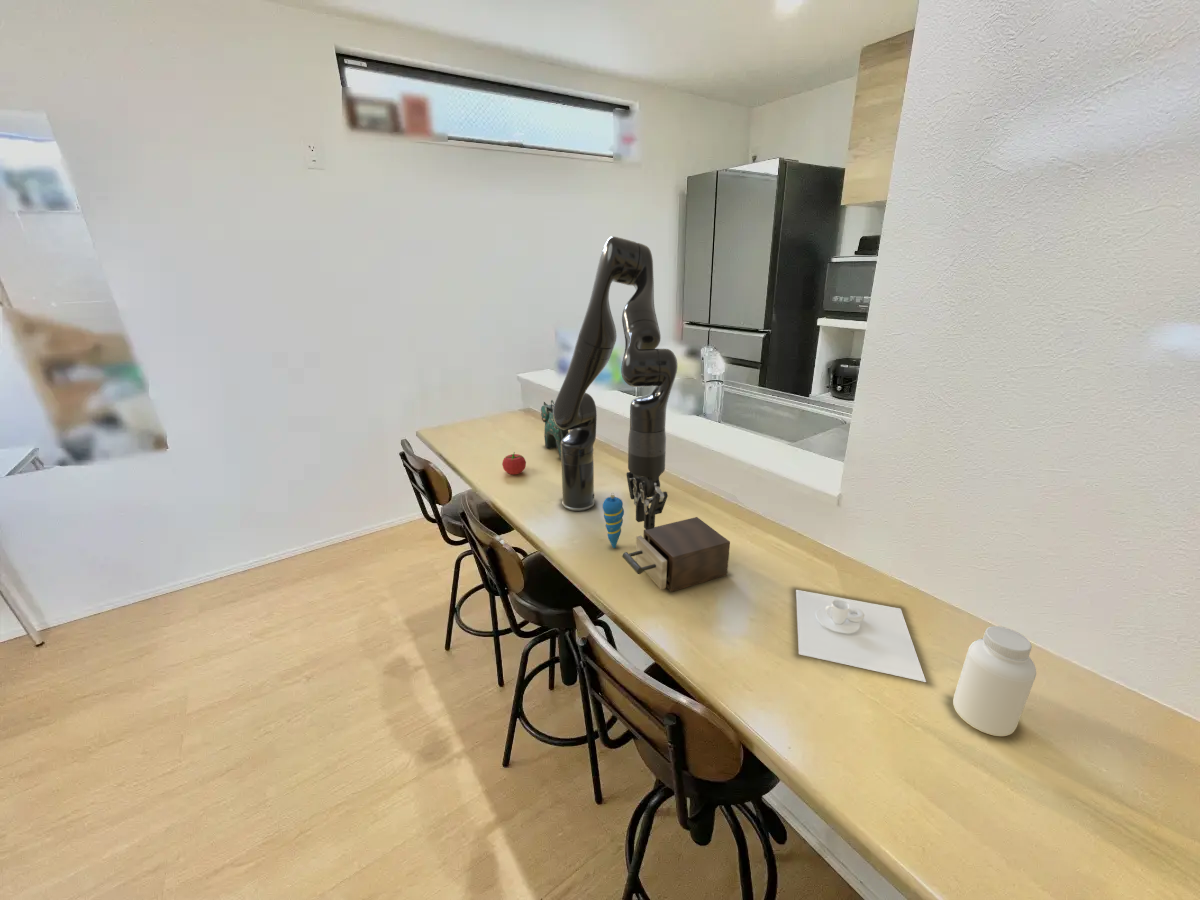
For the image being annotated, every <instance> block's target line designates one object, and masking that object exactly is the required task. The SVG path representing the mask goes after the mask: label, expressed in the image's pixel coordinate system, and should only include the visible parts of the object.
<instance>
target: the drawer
mask: <svg viewBox="0 0 1200 900" xmlns="http://www.w3.org/2000/svg"><path fill="white" fill-rule="evenodd" d="M635 541H636V542H635V544H636V545H635V551H633V552H630V553H628V551H625V552H623V553H622V556H621V557H622V558H623V559H624V561H625V562H626V563H627V564H628V565H629V566H630V567H631V569H632V570H634V572H635V573H636V574H637V575H641V574H643V572H644V573H645V574H646V575H647V576H648V577H649V578H650V579H651V580H652V581H653V582H654V584H656V586H657V587H658V588H659V589H660V590H665V589H666V588H667V587H666V580H667V581H668V582H669V583H670V567H671V558H670V557H669V556H668V555H667V554H666V553H664V552H663V551H662V550H661V549H660V548H659V547H658V546H657V545H656V544H655V543H654V542H653V541H652V540H651V539H650V538H649V537H648V542H647V541H646V540H645V539H644V536H642V535H636V539H635ZM634 557H635V559H634Z"/></svg>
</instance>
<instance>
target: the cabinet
mask: <svg viewBox="0 0 1200 900" xmlns="http://www.w3.org/2000/svg"><path fill="white" fill-rule="evenodd" d="M648 537H649V538H650V539H651V540H652V541H653V542H654V543H655V544H656V545H657V546H658V547H659V548H660V549H661V550H662V551H663V552H664V553H666V554H667V555H668V556H669V557H670V558H671V567H670V583H669V582H668V581H667V580H666V588H667V589H668V590H669V591H670V593H673V592H677V591H679V590H682V589H686V588H689V587H693V586H695V585H699V584H702V583H705V582H709V581H712V580H716V579H719V578H722V577H726V576H728V567H729V559H730V557H729V556H730V548H731V547H730V546H731V541H730V540H728V539H727V538H726V537H725V536H724V535H722V534H720V533H719V532H718V531H717V530H715V529H713V528H712V527H711V526H710V525H708V524H707V523H706V522H705V521H704V520H703V519H701V518H699V517H698V516H695V517H691V518H685V519H682V520H679V521H674V522H670V523H665V524H661V525H658V526H655V527H654V528H653V529H649V530H646V529H645V528H644V529H643V538H644V539H645V540H646V541H647V542H648Z"/></svg>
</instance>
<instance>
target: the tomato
mask: <svg viewBox="0 0 1200 900" xmlns="http://www.w3.org/2000/svg"><path fill="white" fill-rule="evenodd" d="M501 465H502V469H503V470H504V471H505V472H506V473H507V474H508V475H520V474H521V473H523V471H524V470H525V469H526V465H527V461H526V458H525V457H524V456H523V455H521V454H519V453H518V454H517V453H516V452H515V451H514V452H513V453H512V454H508V455H506V456H505V457H504V458H503V460H502V464H501Z"/></svg>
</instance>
